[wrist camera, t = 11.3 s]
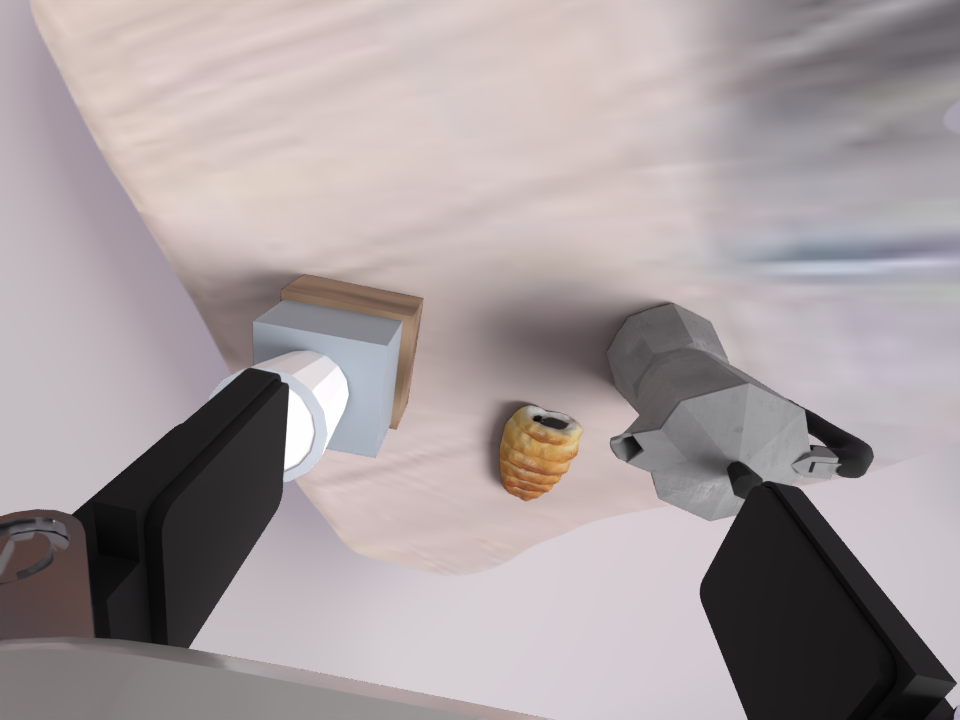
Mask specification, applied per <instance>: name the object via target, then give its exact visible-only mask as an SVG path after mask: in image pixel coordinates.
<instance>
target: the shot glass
mask: <svg viewBox="0 0 960 720" xmlns="http://www.w3.org/2000/svg"><path fill="white" fill-rule="evenodd" d="M248 368H255V369H260V370H264V371H269V372H273V373H278V374H279V375H280V376H281V382H284V383H288V385H289V402H288V417H287V432H286V447H285V462H284V477H283V482H288V481H290V480H293V479H295V478H297V477H299V476H301V475H303V474H305V473H307V472H309V470H310V469H311V468H312V467H313V466H314V464H315V463H316V462H317V461H318V460H319V459H320V457H321V456H322V455H323V453H324V451H325V449H326V447H327V444H328V442H329V440H330V438H331V436H332V434H333V432H334V430H335V428H336V426H337V424H338V422H339V420H340V418H341V416H342V414H343V412H344V410H345V406H346V403H347V399H348V396H349V393H348V386H347V380H346V378H345V376H344V374H343V373H342V371H341V369H340V368H339V366H338V365H337V364H336V363H334V362H333V361H332V360H331V359H329V358H328V357H327V356H326V355H323V354H320V353H317V352H314V351H310V350H304V351H293V352H290V353H287V354H284V355H281V356H279V357H276V358H273V359H270V360H268V361H265V362H262V363H259V364H256V365H254V366H251V367H248ZM245 369H247V368H245ZM245 369H243V370H241V371H239V372H237V373H235V374H233V375H231V376H229V377H227V378H225V379H223V380H222V381H221V382H220V383H219V385H218V386H217V387H216V389H215V390H214V391H213V392H212V394H211V395H210V396H209V398H208V401H209V400H210V399H212V398H213V397H214V396H215V395H216V394H217V393H219V392H220V391H221V390H222V389H223V388H224V387H226V386H227V385H228V384H229V383H230V382H231V381H233V380H234V379H235V378H236V377H237V376H238V375H240V374H241V373H242V372H243V371H244V370H245Z"/></svg>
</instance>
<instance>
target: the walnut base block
mask: <svg viewBox="0 0 960 720" xmlns="http://www.w3.org/2000/svg"><path fill="white" fill-rule="evenodd" d="M284 299H286V300H292V301H297V302H303V303H308V304H313V305H319V306H324V307H330V308H335V309H340V310H346V311H351V312H357V313H362V314H367V315H373V316H378V317H384V318H389V319H394V320H400V321H403V323H402V332H401V340H400V349H399V357H398V366H397V375H396V383H395V392H394V400H393V409H392V417H391V424H390V426H389V428H391V429H396V430H397V427H398V425H399V422H400V420H401V417H402V415H403V413H404V410H405V408H406V405H407V403H408V397H409V391H410V384H411V378H412V371H413V365H414V358H415V352H416V345H417V338H418V332H419V325H420V319H421V312H422V306H423V299H424V298H419V297H414V296H409V295H404V294H400V293H395V292H390V291H385V290H380V289H375V288H370V287H365V286H361V285H356V284H351V283H346V282H341V281H336V280H331V279H326V278H322V277H317V276H312V275H307V274H304V275H303V276H301V277H300V278H298V279H297V280H295V281H294V282H292V283H290V284H289V285H287V286H286V287H284V288H283V289H281V300H280V302H281V301H282V300H284Z"/></svg>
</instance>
